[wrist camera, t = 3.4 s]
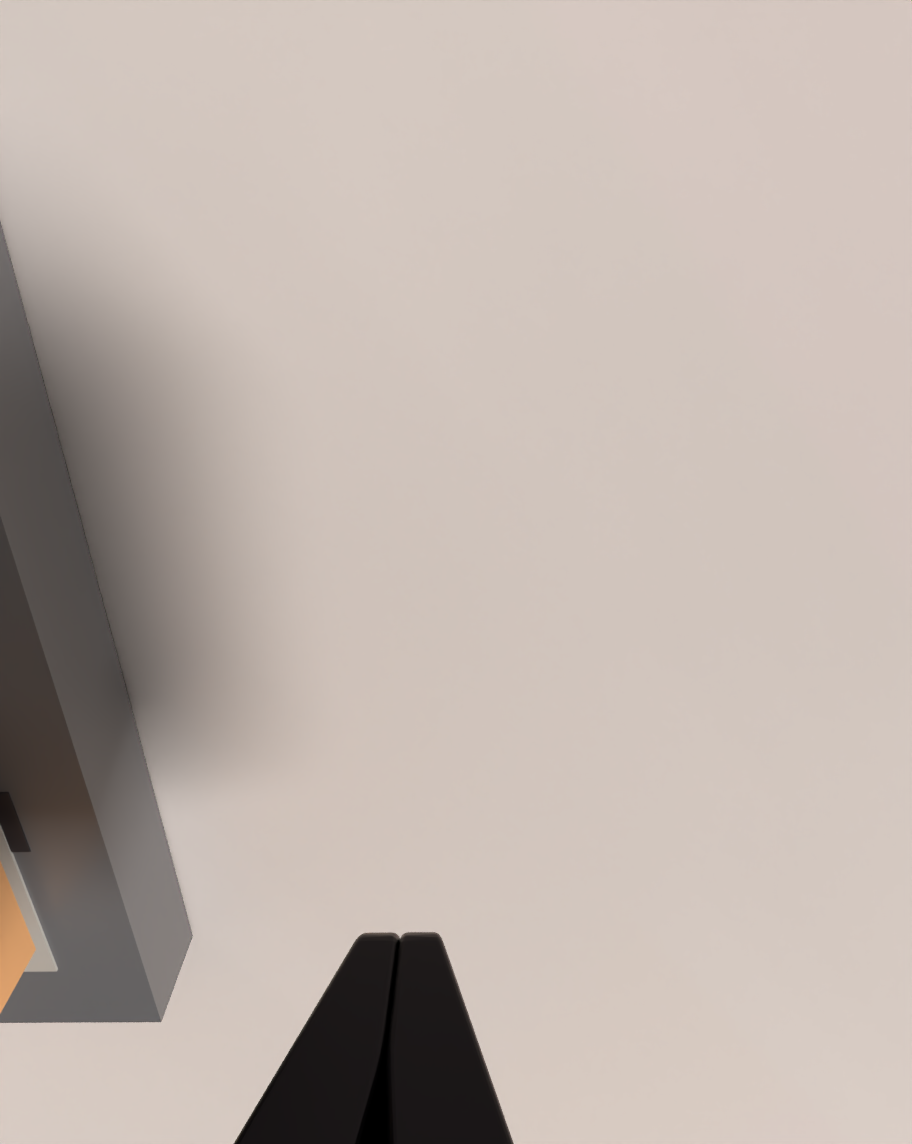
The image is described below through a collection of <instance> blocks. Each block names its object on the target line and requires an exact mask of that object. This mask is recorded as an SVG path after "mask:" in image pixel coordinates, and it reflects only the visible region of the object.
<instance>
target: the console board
mask: <svg viewBox="0 0 912 1144" xmlns="http://www.w3.org/2000/svg"><path fill="white" fill-rule="evenodd" d="M0 861H1V864H2V866H3V868H4V871H5V873H6V876H7V878H8V881H9V883H10V886H11V888H12V891H13V893H14V896H15V898H16V901H17V903H18V906H19V908H20V911H21V913H22V916H23V918H24V921H25V923H26V926H27V928H28V931H29V933H30V935H31V938H32V940H33V943H34V945H35V948H36V950H35V952H34V954H33V956H32V958H31V959H30V961H29V963H28V965H27V967H26V968H25V970H24V972H23V974H22V976H21V977H20V979H19V981H18V983H17V985H16V986H15V988H14V990H13V992H12V994H11V995H10V997H9V999H8V1001H7V1003H6V1004H5V1006H4V1008H3V1010H2V1011H1V1013H0V1023H43V1022H161V1021H162V1019H163V1016H164V1013H165V1010H166V1008H167V1005H168V1002H169V1000H170V997H171V994H172V991H173V989H174V986H175V983H176V980H177V978H178V975H179V972H180V969H181V967H182V964H183V961H184V958H185V956H186V953H187V950H188V947H189V945H190V942H191V939H192V936H193V935H192V931H191V928H190V924H189V920H188V917H187V913H186V909H185V905H184V902H183V898H182V894H181V891H180V887H179V883H178V879H177V876H176V872H175V868H174V865H173V861H172V857H171V853H170V850H169V846H168V842H167V839H166V835H165V831H164V827H163V824H162V820H161V816H160V813H159V809H158V805H157V801H156V798H155V794H154V790H153V787H152V783H151V779H150V775H149V772H148V768H147V764H146V761H145V757H144V753H143V749H142V746H141V742H140V738H139V735H138V731H137V727H136V723H135V720H134V716H133V712H132V709H131V705H130V701H129V697H128V694H127V690H126V686H125V683H124V679H123V675H122V671H121V668H120V664H119V660H118V657H117V653H116V649H115V645H114V642H113V638H112V634H111V631H110V627H109V623H108V619H107V616H106V612H105V608H104V605H103V601H102V597H101V593H100V590H99V586H98V582H97V579H96V575H95V571H94V567H93V564H92V560H91V556H90V553H89V549H88V545H87V541H86V538H85V534H84V530H83V527H82V523H81V519H80V515H79V512H78V508H77V504H76V501H75V497H74V493H73V489H72V486H71V482H70V478H69V475H68V471H67V467H66V463H65V460H64V456H63V452H62V449H61V445H60V441H59V437H58V434H57V430H56V426H55V423H54V419H53V415H52V411H51V408H50V404H49V400H48V397H47V393H46V389H45V385H44V382H43V378H42V374H41V371H40V367H39V363H38V359H37V356H36V352H35V348H34V345H33V341H32V337H31V333H30V330H29V326H28V322H27V319H26V315H25V311H24V307H23V304H22V300H21V296H20V293H19V289H18V285H17V281H16V278H15V274H14V270H13V267H12V263H11V259H10V255H9V252H8V248H7V244H6V241H5V237H4V233H3V229H2V226H1V222H0Z"/></svg>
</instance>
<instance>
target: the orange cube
mask: <svg viewBox="0 0 912 1144" xmlns="http://www.w3.org/2000/svg"><path fill="white" fill-rule="evenodd" d="M35 950H36V948H35V945H34V943H33V940H32V938H31V935H30V933H29V931H28V928H27V926H26V923H25V921H24V918H23V916H22V913H21V911H20V908H19V906H18V903H17V901H16V898H15V896H14V893H13V891H12V888H11V886H10V883H9V881H8V878H7V876H6V873H5V871H4V868H3V866H2V864H1V861H0V1013H1V1011H2V1010H3V1008H4V1006H5V1004H6V1003H7V1001H8V999H9V997H10V995H11V994H12V992H13V990H14V988H15V986H16V985H17V983H18V981H19V979H20V977H21V976H22V974H23V972H24V970H25V968H26V967H27V965H28V963H29V961H30V959H31V958H32V956H33V954H34V952H35Z"/></svg>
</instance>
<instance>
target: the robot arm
mask: <svg viewBox="0 0 912 1144" xmlns="http://www.w3.org/2000/svg"><path fill="white" fill-rule="evenodd" d="M234 1144H514V1143H513V1141H512V1138H511V1135H510V1132H509V1129H508V1126H507V1123H506V1121H505V1118H504V1115H503V1112H502V1109H501V1106H500V1103H499V1101H498V1098H497V1095H496V1092H495V1089H494V1086H493V1083H492V1081H491V1078H490V1075H489V1072H488V1069H487V1066H486V1063H485V1061H484V1058H483V1055H482V1052H481V1049H480V1046H479V1043H478V1041H477V1038H476V1035H475V1032H474V1029H473V1026H472V1023H471V1020H470V1018H469V1015H468V1012H467V1009H466V1006H465V1003H464V1000H463V998H462V995H461V992H460V989H459V986H458V983H457V980H456V978H455V975H454V972H453V969H452V966H451V963H450V960H449V958H448V955H447V952H446V949H445V946H444V943H443V941H442V938H441V937H440V935H439V934H437V933H435V932H408V933H405V934H403V935H402V936H401V938H399V936H398V935H397V934H396V933H364V934H362V935H360V936H359V937H358V938H357V939H356V941H355V942H354V944H353V945H352V947H351V949H350V950H349V952H348V954H347V955H346V957H345V959H344V960H343V962H342V964H341V965H340V967H339V969H338V970H337V972H336V974H335V975H334V977H333V979H332V981H331V982H330V984H329V986H328V987H327V989H326V991H325V992H324V994H323V996H322V997H321V999H320V1001H319V1002H318V1004H317V1006H316V1007H315V1009H314V1011H313V1012H312V1014H311V1016H310V1017H309V1019H308V1021H307V1022H306V1024H305V1026H304V1027H303V1029H302V1031H301V1032H300V1034H299V1036H298V1037H297V1039H296V1041H295V1042H294V1044H293V1046H292V1047H291V1049H290V1051H289V1052H288V1054H287V1056H286V1057H285V1059H284V1061H283V1062H282V1064H281V1066H280V1067H279V1069H278V1071H277V1072H276V1074H275V1076H274V1077H273V1079H272V1081H271V1082H270V1084H269V1086H268V1087H267V1089H266V1091H265V1092H264V1094H263V1096H262V1097H261V1099H260V1101H259V1102H258V1104H257V1106H256V1107H255V1109H254V1111H253V1112H252V1114H251V1116H250V1117H249V1119H248V1121H247V1122H246V1124H245V1126H244V1127H243V1129H242V1131H241V1132H240V1134H239V1136H238V1137H237V1139H236V1141H235V1143H234Z"/></svg>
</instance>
